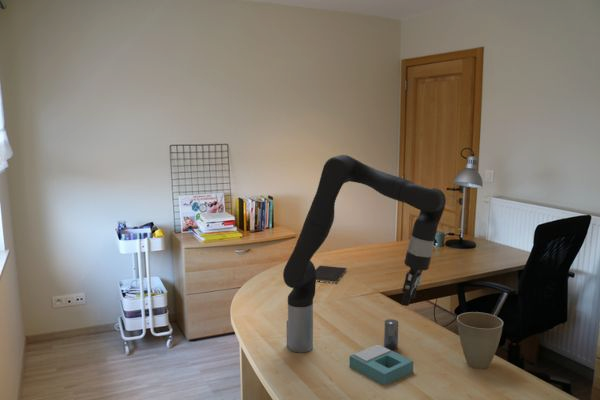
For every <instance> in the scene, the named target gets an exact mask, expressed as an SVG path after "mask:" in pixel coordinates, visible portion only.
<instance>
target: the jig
mask: <svg viewBox="0 0 600 400" xmlns="http://www.w3.org/2000/svg"><path fill="white" fill-rule="evenodd" d="M349 367H350V368H351V369H353V370H355V371H356V372H358V373H360V374H362V375H364V376H366V377H367V378H369V379H371V380H373V381H375V382H376V383H378V384H380V385H382V386H384V387H385V386H387V385H389V384H391V383H393V382H395V381H398V380H400V379H402V378H403V377H405V376H408V375H410V374H413V372H414V360H412V359H410V358H408V357H406V356H404V355H402V354H399V353H397V352H395V351H391V350H389V349H387V348H385V347H384V345H380V344H376V345H373V346H370V347H368V348H365V349H363V350H360V351H358V352H355V353H353V354H351V355H349Z"/></svg>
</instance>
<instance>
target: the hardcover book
mask: <svg viewBox="0 0 600 400" xmlns="http://www.w3.org/2000/svg"><path fill="white" fill-rule="evenodd" d="M315 270H316V280H317V281H324V282H332V283H331V284H334V283H336V284H338V282H339V281H340V279H342V277H343V276H344V274H345V273H346V272H347V267H338V266H329V265H328V266H327V265H319V266H317V268H315ZM342 275H343V276H342ZM341 276H342V277H341ZM338 280H339V281H338ZM337 281H338V282H337Z"/></svg>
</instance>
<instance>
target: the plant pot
mask: <svg viewBox="0 0 600 400" xmlns="http://www.w3.org/2000/svg"><path fill="white" fill-rule="evenodd" d="M456 322H457V329H458V335H459V341H460V345H461V349H462V351H463V356H464V358H465V361H466V365H468V366H470V367H471V368H474V369H479V370H483V368H484V369H487V367H488V368H489V367H490V366H491V364H492V361H493V359H494V357H495V355H496V352H497V350H498V346H499V345H500V344H499V343H500V340H501V337H502V332H503V327H504V321H503V320H502V319H501V318H500V317H498V316H497V315H493V314H491V313H486V312H479V311H475V312H474V311H470V312H463V313H460V314H459V315H457V317H456Z"/></svg>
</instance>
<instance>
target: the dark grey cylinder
mask: <svg viewBox="0 0 600 400" xmlns="http://www.w3.org/2000/svg"><path fill="white" fill-rule="evenodd" d="M383 333H384V334H383V336H384V337H383V347H385V348H387V349H389V350H391V351H393V352H395V351H397V350H399V349H398V347H399V345H398V344H399V321H398V320H397V319H392V318H388V319H385V320H384V331H383Z"/></svg>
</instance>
